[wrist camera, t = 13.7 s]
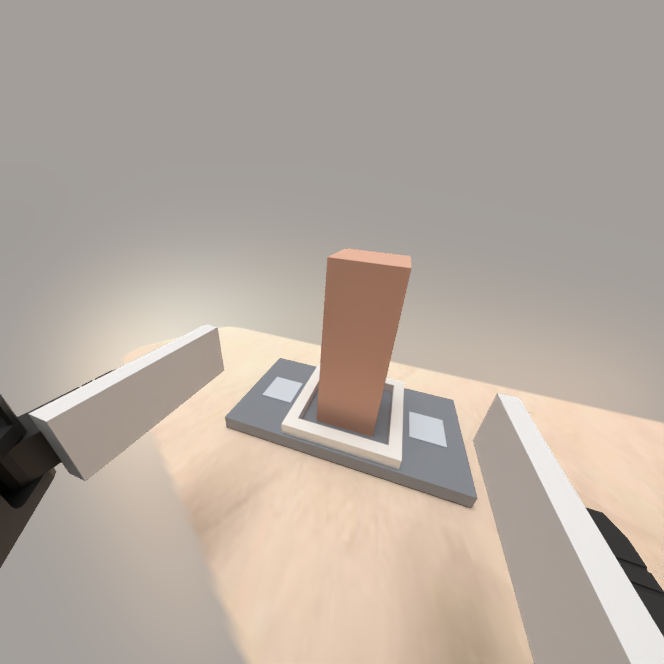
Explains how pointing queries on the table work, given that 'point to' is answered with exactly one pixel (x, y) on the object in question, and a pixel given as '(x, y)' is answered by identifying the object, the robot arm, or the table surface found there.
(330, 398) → the terracotta pillar
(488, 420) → the robot arm
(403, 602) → the table surface
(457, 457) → the base board
